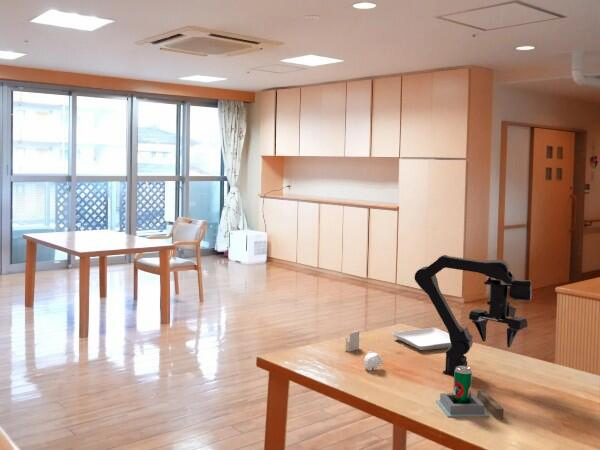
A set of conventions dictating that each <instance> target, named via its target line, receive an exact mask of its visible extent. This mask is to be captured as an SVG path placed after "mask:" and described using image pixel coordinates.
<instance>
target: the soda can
mask: <svg viewBox="0 0 600 450" xmlns="http://www.w3.org/2000/svg"><path fill="white" fill-rule="evenodd" d="M472 381H473V371H472V368H471V367H470V366H468V365H467V366H457V367H456V369H455V371H454V376H453V403H454V404H471V393H472V383H473V382H472Z"/></svg>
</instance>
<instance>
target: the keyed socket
mask: <svg viewBox="0 0 600 450" xmlns="http://www.w3.org/2000/svg"><path fill="white" fill-rule="evenodd" d="M453 393H454V392H453ZM453 393H445V392H444V393H440V397H439V400H438V399H437V400H435V403H436V404H437V405H438V406H439V408H440V409H441V410H442V412H443V411H444V412H445V413H444V412H443V413H444V415H445V416H446V417H447V416H448V418H468V417H469V418H474V417H475V418H477V417H478V418H479V417H481V418H482V417H486V418H487V417H489V414H488V413H487V412H486V411H485V407H484V404H483V403H482V402H481V401H480V400H479V399H478V398H477V395H476V394H474V393H473V392H471V404H454V403H453Z"/></svg>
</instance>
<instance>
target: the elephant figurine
mask: <svg viewBox="0 0 600 450" xmlns="http://www.w3.org/2000/svg"><path fill="white" fill-rule="evenodd" d="M362 361H363V365H364V368H365V369H366V370H367V371H369V372H371V371H372V370H373V371H377V370H378V367H381V366H383V364H384V361H383V359H382V355H380V354H378V353H376V352H374V351H373V350H369V351H368V352H367V353H366V355H365V357H364V359H362Z"/></svg>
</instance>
